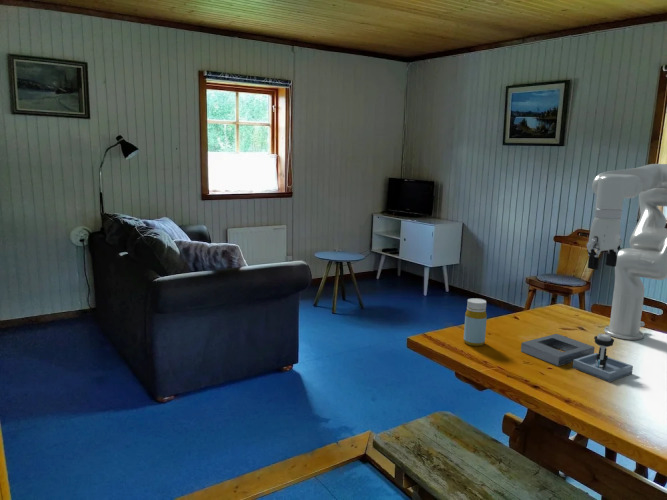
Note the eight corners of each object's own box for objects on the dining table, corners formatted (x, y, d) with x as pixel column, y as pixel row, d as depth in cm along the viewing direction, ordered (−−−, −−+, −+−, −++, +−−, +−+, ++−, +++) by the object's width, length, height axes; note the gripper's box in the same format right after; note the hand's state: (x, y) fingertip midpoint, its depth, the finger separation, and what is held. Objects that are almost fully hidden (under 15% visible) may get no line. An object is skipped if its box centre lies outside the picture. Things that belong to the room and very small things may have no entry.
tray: (595, 360, 164) (596, 352, 164) (632, 373, 155) (633, 365, 154) (572, 367, 159) (573, 359, 158) (609, 381, 149) (610, 373, 148)
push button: (610, 373, 153) (614, 341, 151) (589, 369, 155) (593, 337, 153) (611, 365, 158) (614, 334, 156) (591, 362, 161) (595, 331, 159)
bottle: (477, 348, 173) (480, 304, 170) (459, 342, 178) (462, 300, 175) (488, 343, 178) (491, 301, 175) (471, 337, 183) (474, 296, 180)
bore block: (555, 341, 180) (556, 333, 180) (593, 355, 168) (594, 346, 168) (520, 351, 171) (521, 342, 170) (558, 366, 159) (559, 357, 159)
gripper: (612, 212, 172) (606, 262, 175) (580, 214, 163) (574, 267, 166) (635, 214, 166) (628, 267, 169) (603, 217, 157) (596, 272, 160)
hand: (601, 267), depth 168 cm, fingers open, 9 cm apart
